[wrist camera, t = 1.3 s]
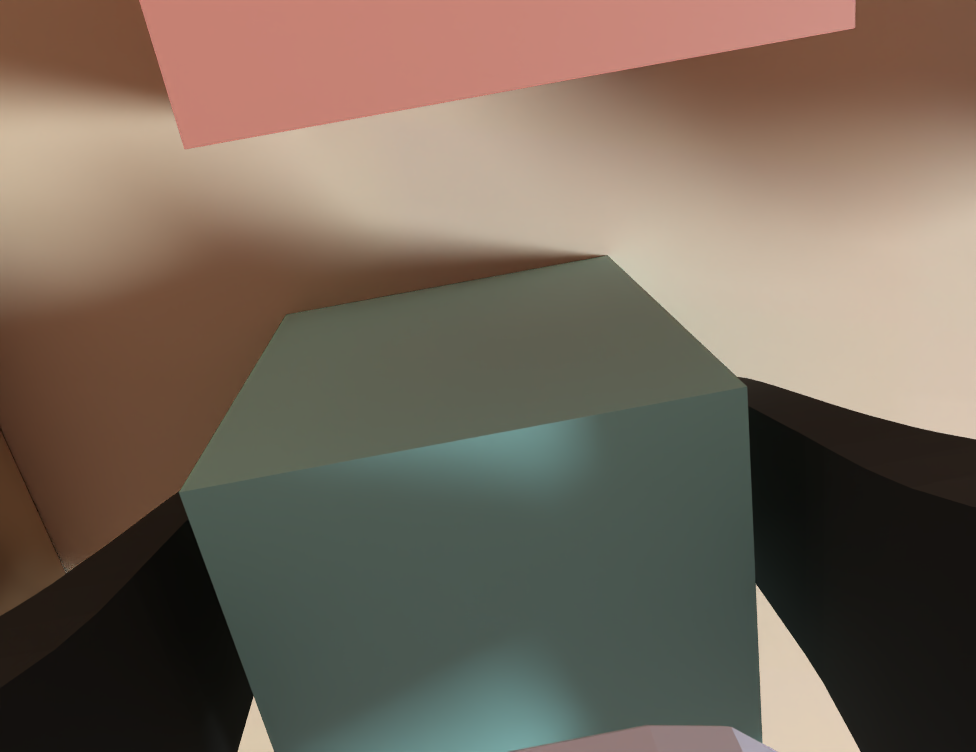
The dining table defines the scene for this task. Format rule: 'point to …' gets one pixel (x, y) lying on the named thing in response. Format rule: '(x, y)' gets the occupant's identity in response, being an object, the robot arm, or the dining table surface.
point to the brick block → (428, 51)
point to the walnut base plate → (22, 540)
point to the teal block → (485, 520)
